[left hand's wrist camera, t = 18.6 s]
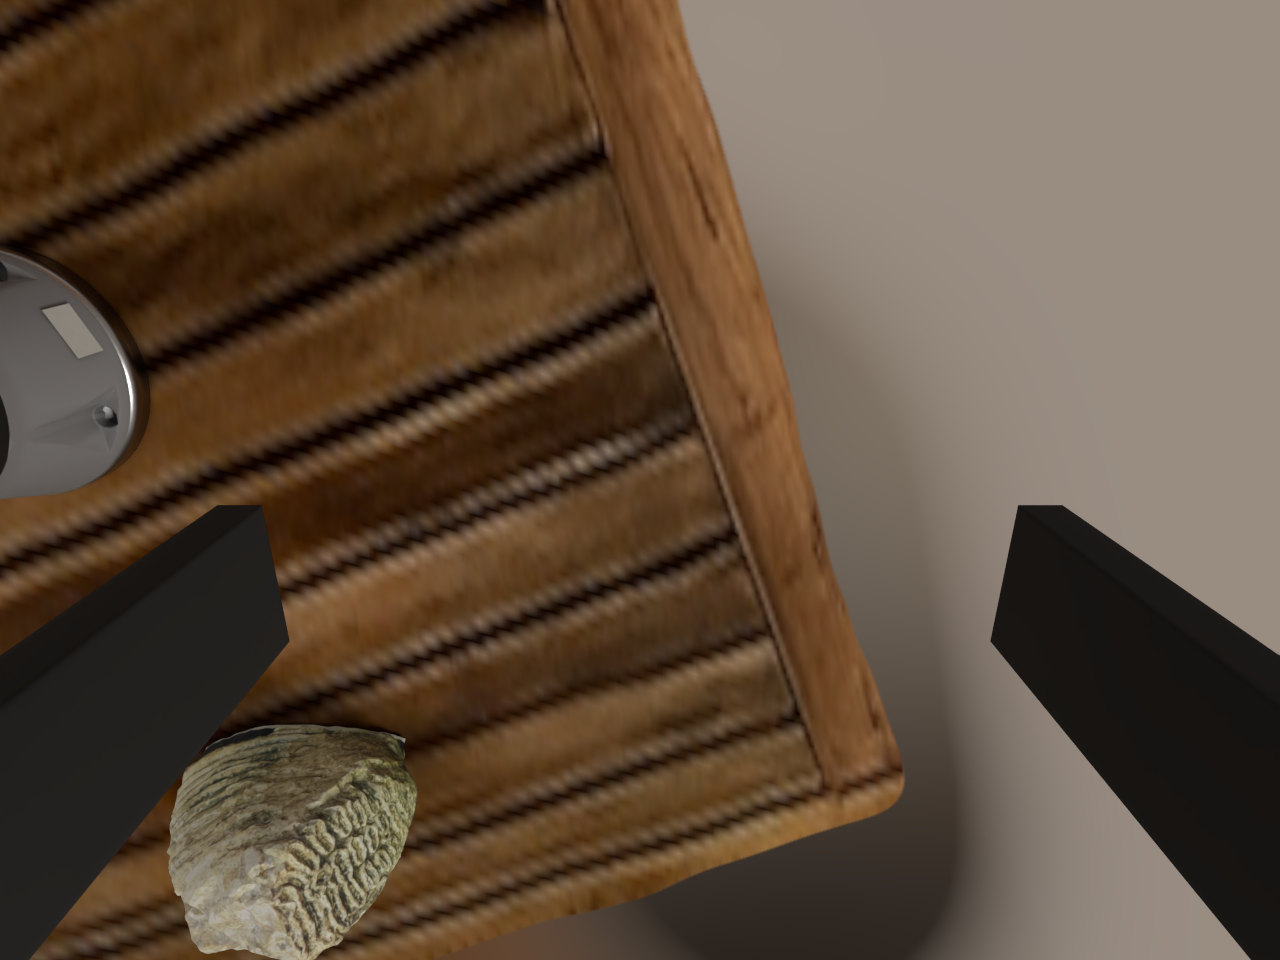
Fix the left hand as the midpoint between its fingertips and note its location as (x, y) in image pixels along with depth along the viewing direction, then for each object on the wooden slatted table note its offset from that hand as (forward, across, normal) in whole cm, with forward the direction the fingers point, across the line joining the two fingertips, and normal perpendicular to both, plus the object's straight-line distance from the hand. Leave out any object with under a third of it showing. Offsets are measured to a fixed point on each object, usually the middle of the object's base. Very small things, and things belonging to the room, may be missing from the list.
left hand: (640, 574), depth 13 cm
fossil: (+33, +25, +34) cm, 54 cm away
